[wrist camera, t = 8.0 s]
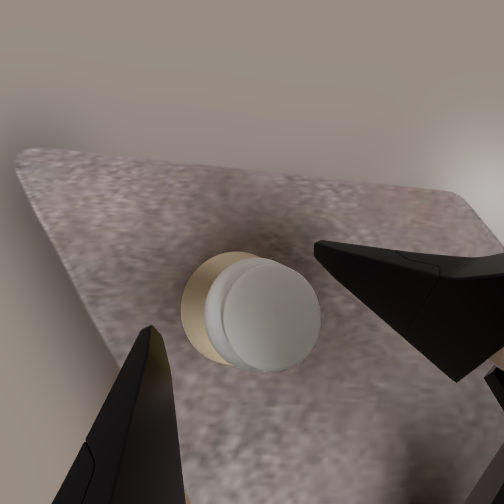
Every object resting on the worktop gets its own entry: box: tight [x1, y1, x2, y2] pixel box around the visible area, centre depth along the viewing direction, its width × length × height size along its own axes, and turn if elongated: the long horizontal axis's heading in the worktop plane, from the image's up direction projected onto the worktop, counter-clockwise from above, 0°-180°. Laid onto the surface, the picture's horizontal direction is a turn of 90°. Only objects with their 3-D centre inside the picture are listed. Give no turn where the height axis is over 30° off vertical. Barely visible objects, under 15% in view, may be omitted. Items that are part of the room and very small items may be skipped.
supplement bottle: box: [204, 258, 321, 372], centre depth 12 cm, size 6×6×10 cm
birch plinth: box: [181, 251, 260, 365], centre depth 18 cm, size 10×10×3 cm
